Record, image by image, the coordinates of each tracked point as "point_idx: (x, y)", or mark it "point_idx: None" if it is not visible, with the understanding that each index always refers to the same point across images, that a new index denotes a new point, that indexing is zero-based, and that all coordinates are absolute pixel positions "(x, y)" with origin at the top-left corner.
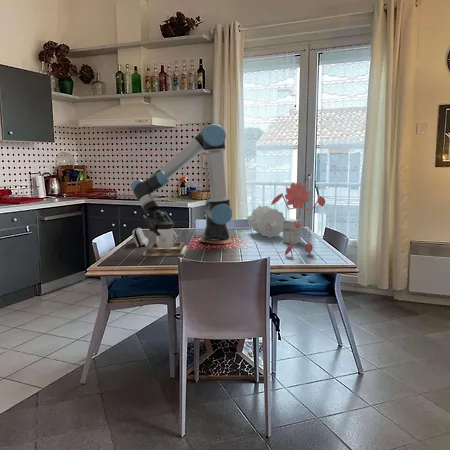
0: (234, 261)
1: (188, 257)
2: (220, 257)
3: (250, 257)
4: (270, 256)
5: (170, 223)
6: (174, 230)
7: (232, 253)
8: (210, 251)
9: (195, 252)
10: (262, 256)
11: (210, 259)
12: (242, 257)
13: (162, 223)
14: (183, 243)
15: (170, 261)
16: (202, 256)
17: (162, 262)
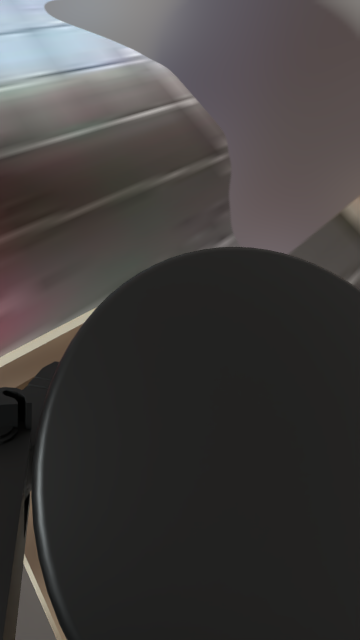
0: (165, 71)
1: (212, 222)
2: (135, 119)
3: (80, 46)
4: (34, 7)
5: (232, 251)
6: (42, 375)
7: (38, 104)
8: (35, 194)
9: (95, 248)
10: (45, 22)
11: (187, 137)
12: (93, 64)
13: (356, 415)
14: (12, 361)
15: (319, 250)
16: (159, 181)
17: (356, 269)
